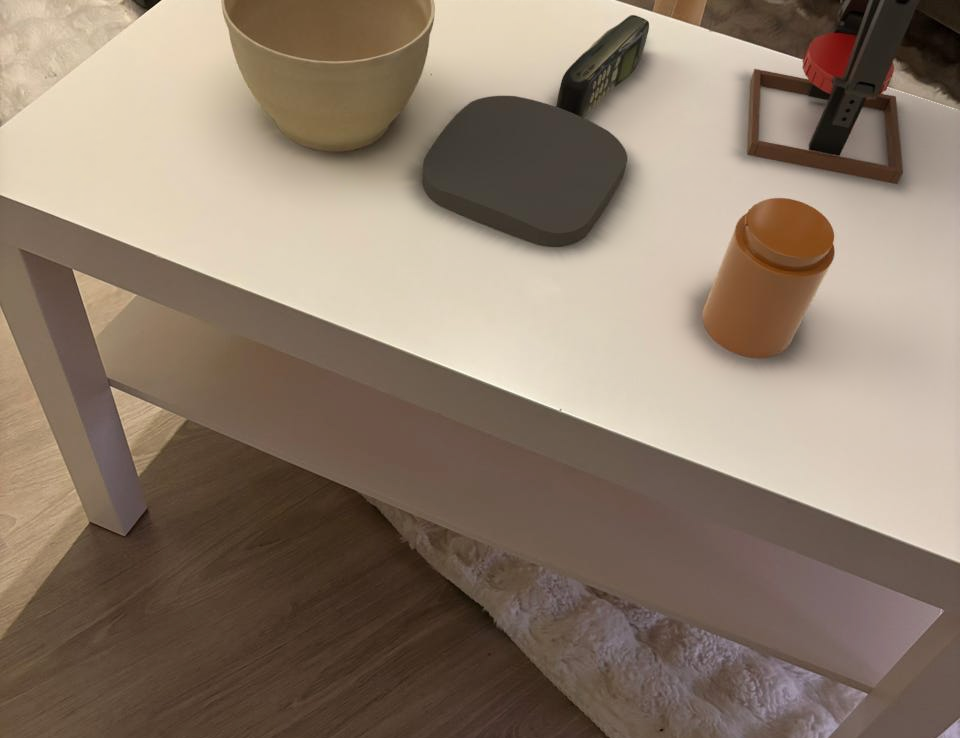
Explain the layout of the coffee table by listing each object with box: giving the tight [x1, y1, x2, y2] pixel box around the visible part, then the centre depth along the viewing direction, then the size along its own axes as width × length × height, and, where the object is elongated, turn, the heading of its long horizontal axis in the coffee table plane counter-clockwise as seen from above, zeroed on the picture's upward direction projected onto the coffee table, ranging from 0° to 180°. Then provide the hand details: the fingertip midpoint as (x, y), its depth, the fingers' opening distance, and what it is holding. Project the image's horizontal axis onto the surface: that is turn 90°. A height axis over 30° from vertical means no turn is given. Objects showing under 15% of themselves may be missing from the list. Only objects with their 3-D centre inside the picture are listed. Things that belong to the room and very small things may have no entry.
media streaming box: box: [421, 95, 628, 248], centre depth 84 cm, size 15×15×3 cm
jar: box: [701, 197, 836, 359], centre depth 74 cm, size 7×7×10 cm
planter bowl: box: [221, 0, 436, 153], centre depth 82 cm, size 16×16×11 cm
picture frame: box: [746, 68, 904, 185], centre depth 91 cm, size 13×11×2 cm
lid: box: [801, 32, 895, 100], centre depth 86 cm, size 7×7×2 cm
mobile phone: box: [555, 14, 650, 118], centre depth 91 cm, size 5×3×15 cm
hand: (823, 122), depth 91 cm, fingers closed on lid, 7 cm apart
